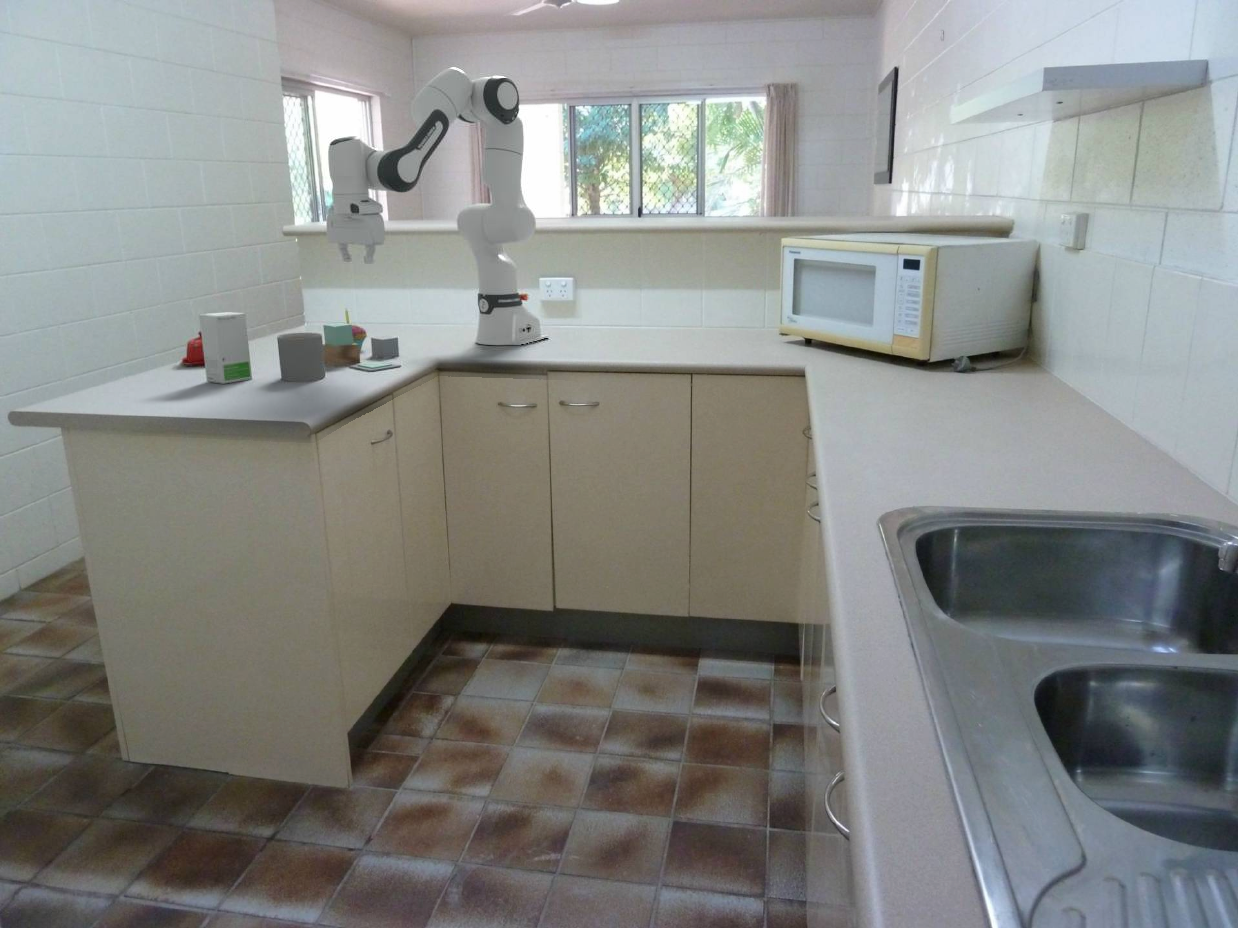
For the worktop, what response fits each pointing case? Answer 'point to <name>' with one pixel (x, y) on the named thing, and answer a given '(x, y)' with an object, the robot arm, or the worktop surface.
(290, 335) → the coffee mug
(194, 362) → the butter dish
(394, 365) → the tile
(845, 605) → the worktop surface
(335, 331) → the teal block
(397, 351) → the grey block
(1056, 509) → the worktop surface
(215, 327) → the skincare box
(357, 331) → the cupcake
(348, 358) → the walnut block
